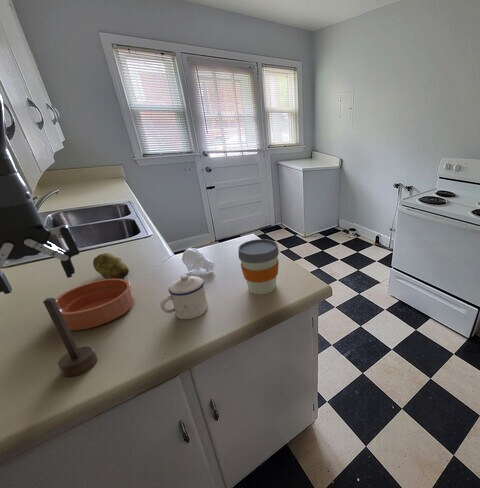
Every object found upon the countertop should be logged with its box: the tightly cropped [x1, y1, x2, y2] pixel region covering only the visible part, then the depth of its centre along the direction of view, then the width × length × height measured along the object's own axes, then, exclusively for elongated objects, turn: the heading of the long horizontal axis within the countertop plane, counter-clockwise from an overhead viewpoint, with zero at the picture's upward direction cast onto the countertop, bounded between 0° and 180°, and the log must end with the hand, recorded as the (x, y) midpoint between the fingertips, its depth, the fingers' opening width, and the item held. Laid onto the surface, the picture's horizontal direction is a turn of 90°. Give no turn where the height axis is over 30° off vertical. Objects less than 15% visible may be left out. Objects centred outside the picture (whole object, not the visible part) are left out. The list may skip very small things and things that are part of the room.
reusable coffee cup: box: [238, 238, 280, 295], centre depth 88 cm, size 12×12×15 cm
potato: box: [92, 252, 130, 279], centre depth 96 cm, size 8×13×8 cm, turn 48°
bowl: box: [54, 278, 136, 331], centre depth 78 cm, size 18×18×6 cm
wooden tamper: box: [42, 297, 98, 378], centre depth 57 cm, size 6×6×18 cm
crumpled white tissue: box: [181, 247, 216, 273], centre depth 100 cm, size 6×8×12 cm
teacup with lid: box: [160, 274, 209, 320], centre depth 76 cm, size 12×9×12 cm
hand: (40, 283), depth 52 cm, fingers open, 8 cm apart
